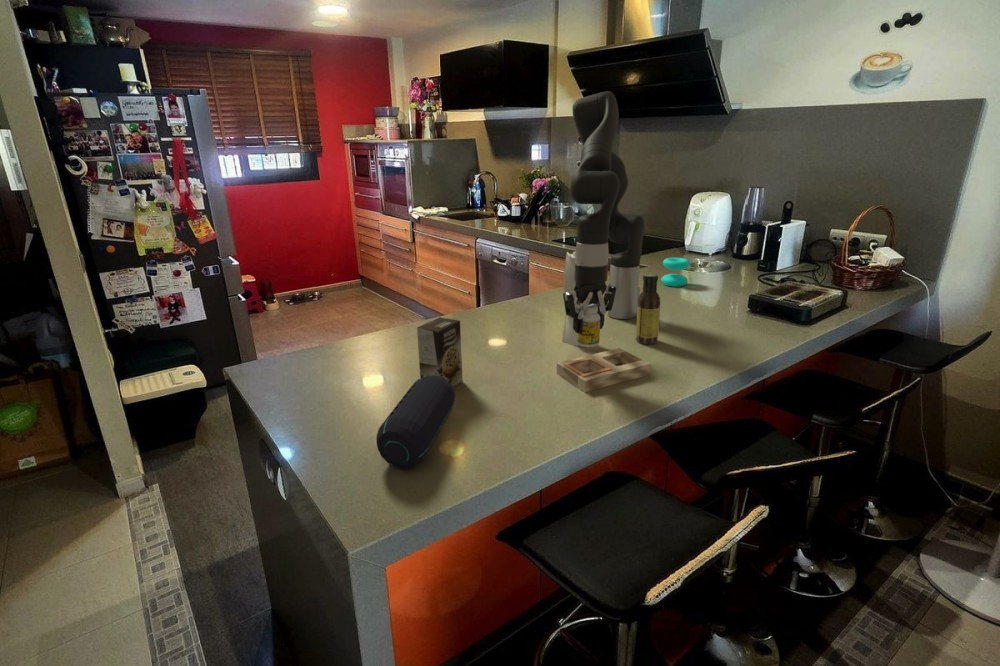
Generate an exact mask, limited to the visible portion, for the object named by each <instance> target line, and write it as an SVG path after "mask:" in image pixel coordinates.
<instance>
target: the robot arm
mask: <svg viewBox="0 0 1000 666" xmlns="http://www.w3.org/2000/svg"><path fill="white" fill-rule="evenodd" d="M619 115H620V112H619V106H618V101H617V99H616V96H615V94H614V92H613V91H610V90H609V91H602V92H598V93H594V94H591V95H587V96H584V97H581V98H578V99H576V100H575V101H574V102H573V104H572V116H573V120H574V125H575V127H576V130H577V133H578V136H579V138H580V140H581V143H582V149H581V153H580V164H579V166H578V168H577V169H576V171H575V173H574V174H573V176H572V179H571V182H570V184H569V185H570V187H569V193H570V196H571V198H572V200H573V201H574V203H576V204H578V205H579V204H581V205H600V206H601V207H600V209H598V211H596V212H593V213H589V214H584V215H581V216H579V218H578V219H577V227H576V246H575V251H574V252H575V277H574V279H575V283H576V285H575V288H574V290H573V291H571V292H564V291H563V293H562V296H563V304H564V312H565V316H566V315H568V316H570V317H572V318H573V330H575V332H576V333H578V334H580V333H582V322H583V319H582V316H583V313H584V311H585V310H586V309H587V307H588V305H590V304H595V305H597V306H598V311H597V313H598V314H599V315H600V330H602V329H603V327H604V325H605V315H606V314H607V316H608V317H610V318H612V319H613V318H614V319H617V320H628V319H629V320H630V319H635V318H636V317H637V307H638V298H639V296H640V294H641V287H640V286H639V279H640V267H641V258H642V252H643V251H642V250H643V243H644V235H645V219H644V217H643V216H642V215H641V214H632V213H621V212H620V210H619V208H618V206H619V204H620V202H621V200H622V199H623V197H624V196H625V194H626V192H627V190H628V187H629V186H628V185H629V178H628V175H627V171H626V167H625V163H624V161H623V160H622V159H621V158H620V156H618V155H617V154H616V153H615V152H613V150H612V149H613V143H614V140H615V137H616V133H617V131H618V130H617V129H618V126H619V117H620V116H619ZM609 241H611V242H613V243H615V244H624V245H628V247H627V249H626V250H624V251H622V252H618V253H614V254H612V255H611V257H610V263H609V255H610V253H609V252H610V251H609ZM609 264H610V268H609ZM608 269H609V282H608V283H609V284H607V281H608ZM606 284H607V285H606ZM575 296H576V297H577V298H576V301H575V304H574V300H575ZM580 303H582V304H583V305H580ZM578 311H579V312H578Z"/></svg>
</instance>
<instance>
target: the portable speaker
mask: <svg viewBox="0 0 1000 666" xmlns="http://www.w3.org/2000/svg"><path fill="white" fill-rule="evenodd" d="M455 399H456V392H455V388H454V387H452V385H451V383H450V382H449V381H447V380H446V379H445V378H443V377H440V376H436V375H431V376H426V377H423V378H421V379H420V378H418V379H417V380H416V381H414V382H413V384H412V385H411V386H410V388H409V389H408V390H407V392H405V394H404V395H403V396H402V398H401V399H400V400H399V401H398V403H397V404H396V405H395V406H394V407H393V409H392V411H391V412H390V413H389V414H388V416H387V417H386V418H385V419H384V421H383V422H382V423H381V425H380V427H378V431H377V433H376V447H377V450H378V452H379V455H380V456H381V458H382V459H384V461H385V462H387V464H389V465H391V466H392V467H394V468H398V469H401V470H407V469H412V468H414V467H416V466H417V465H419V464H420V463H421V462H422V461H423V459H424V458H425V457H426V456H427V454H428V453H429V451H430V449H431V448H432V445H433V443H434V442H435V440H436V439H437V437H438V435H439V433H440V432H441V430H442V429H443V426H444V424H445V423H446V421H447V419H448V417H449V416H450V414H451V413H452V411H453V407H454V405H455Z"/></svg>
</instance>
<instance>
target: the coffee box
mask: <svg viewBox="0 0 1000 666" xmlns="http://www.w3.org/2000/svg"><path fill="white" fill-rule="evenodd" d="M416 330H417V345H418V346H417V347H418V348H417V349H418V350H417V351H418V361H419V362H418V363H419V379H421V378H423V377H426V376H431V375H436V376H440V377H443V378H445V379H446V380H447V381H449V382H450V383H451V385H452V387H453V388H454V387H455V386H458V385H460V384H461V383H463V382H464V381H463V361H462V360H463V359H462V356H463V355H462V338H461V337H462V336H461V321H460V320H458V319H452V318H447V317H446V318H445V317H437V318H436V319H432V320H431V321H428V322H427V323H424V324H422V325H419V326H417V328H416Z"/></svg>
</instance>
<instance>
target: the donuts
mask: <svg viewBox="0 0 1000 666" xmlns="http://www.w3.org/2000/svg"><path fill="white" fill-rule="evenodd" d="M690 264H691V263H690V261H689V260H688V259H687V258H684V257H683V258H682V257H667V258H665V259H664V260H663V261H662V265H663V266H664V267H665V268H666V269H668V270H671V271H683V270H686V269H688V268H689V267H690ZM660 282H661V283H662V284H663V285H665V286H668V287H674V288H675V287H676V288H679V287H684V286H686V285H687V284H688V282H689V280H688V278H687V277H686V276H685V275H683V274H680V273H679V274H678V273H668V274H665V275H663V276H662V277H661V281H660Z"/></svg>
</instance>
